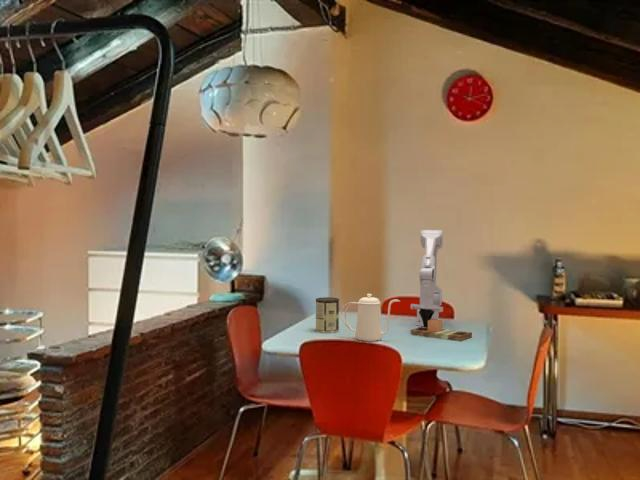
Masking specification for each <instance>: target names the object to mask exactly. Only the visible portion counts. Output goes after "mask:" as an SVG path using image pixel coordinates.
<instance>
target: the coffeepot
mask: <svg viewBox="0 0 640 480" xmlns="http://www.w3.org/2000/svg"><path fill="white" fill-rule="evenodd" d="M372 296H373V294H372V293H367V294H366V297H365V296H364V297H361V298H359V300H358V302H356V301H351V302H347V303H345V304H344V305H342V308H341V310H340V318H341V320H342V322H343V324H344V325H345V326H346V328H347V329H348V330H350V331H352V332H354V333H355V339H357V340H359V341H361V340H363V341H362V342H378V341H380V340H382V338H383V335H385V334H387V333H388V330H389V325H390V318H391V317H390V314H391V305H392V304H393V303H395V302H396V303H397V302H400V300H399V299H392V300H390V301H389V303H388V307H387V317H386V328H385V331H382V329H383V328H382V316H381V315H382V314H381V313H382V312H381V304H382V303H381V301H380V299H379V298H378V297H372ZM348 304H349V305H348ZM353 304H355V305H356V304H357V318H356V327H355V329H354V328H352V327H351V325H350V324H349V323H348V320H347V310H348V308H349V307H350V306H351V305H353ZM346 305H348V306H347V307H346V308H345V306H346ZM344 308H345V311H344V317H343V310H344ZM367 340H369V341H367ZM377 340H378V341H377Z"/></svg>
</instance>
